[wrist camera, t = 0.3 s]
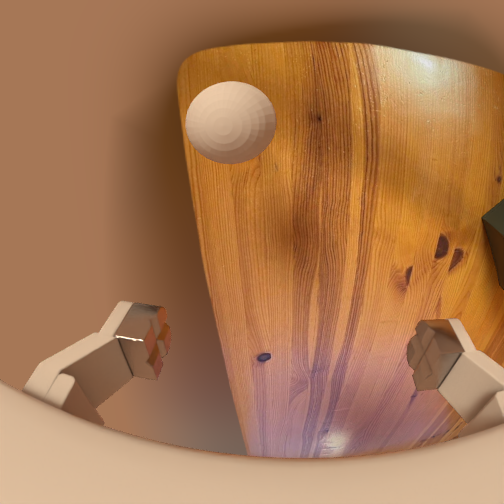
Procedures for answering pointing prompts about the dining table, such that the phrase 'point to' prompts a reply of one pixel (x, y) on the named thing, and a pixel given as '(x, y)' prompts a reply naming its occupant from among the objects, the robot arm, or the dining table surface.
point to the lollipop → (231, 122)
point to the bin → (496, 237)
